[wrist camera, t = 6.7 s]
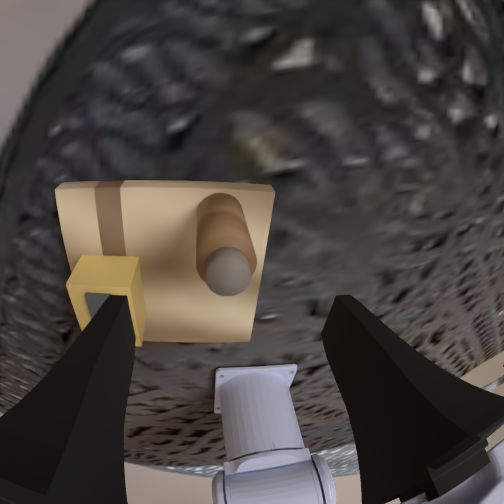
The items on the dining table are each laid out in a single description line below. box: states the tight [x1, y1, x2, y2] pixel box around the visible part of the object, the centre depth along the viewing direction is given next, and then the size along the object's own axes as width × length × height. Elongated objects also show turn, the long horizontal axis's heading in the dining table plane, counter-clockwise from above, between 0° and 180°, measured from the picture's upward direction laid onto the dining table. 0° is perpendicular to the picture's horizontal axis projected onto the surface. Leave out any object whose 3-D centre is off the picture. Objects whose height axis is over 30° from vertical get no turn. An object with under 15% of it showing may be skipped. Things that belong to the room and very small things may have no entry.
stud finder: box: [66, 255, 147, 347], centre depth 17 cm, size 5×4×3 cm
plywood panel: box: [55, 180, 275, 342], centre depth 19 cm, size 12×13×1 cm
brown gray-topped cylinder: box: [196, 193, 257, 296], centre depth 14 cm, size 3×3×6 cm
